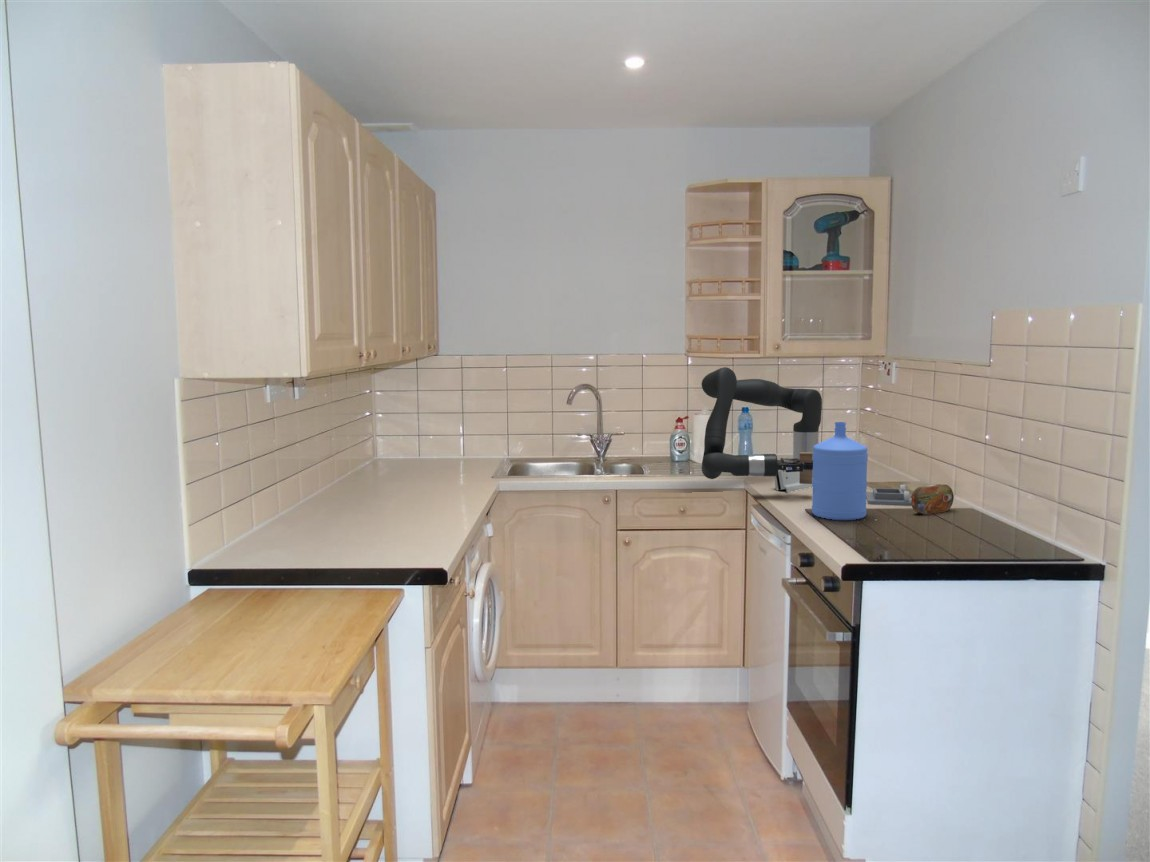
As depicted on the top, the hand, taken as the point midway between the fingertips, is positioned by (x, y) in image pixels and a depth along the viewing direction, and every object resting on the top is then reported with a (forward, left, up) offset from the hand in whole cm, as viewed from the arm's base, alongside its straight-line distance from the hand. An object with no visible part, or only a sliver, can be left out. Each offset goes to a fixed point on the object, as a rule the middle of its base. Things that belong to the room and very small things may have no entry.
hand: (814, 464), depth 267 cm
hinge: (-15, -7, -11) cm, 20 cm away
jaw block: (0, -3, -6) cm, 7 cm away
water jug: (+26, +7, -11) cm, 29 cm away
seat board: (+1, +23, -11) cm, 26 cm away
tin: (+17, +34, -11) cm, 40 cm away
